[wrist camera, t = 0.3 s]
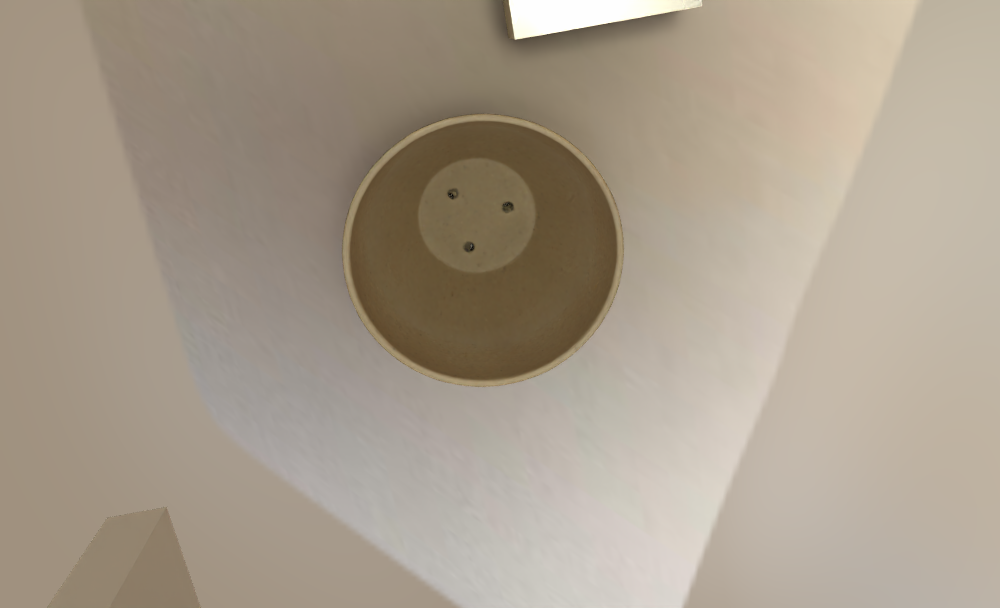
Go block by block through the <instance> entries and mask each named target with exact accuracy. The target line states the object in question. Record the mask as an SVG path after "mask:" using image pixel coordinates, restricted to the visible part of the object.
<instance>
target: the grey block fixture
mask: <svg viewBox="0 0 1000 608" xmlns="http://www.w3.org/2000/svg"><path fill="white" fill-rule="evenodd" d="M503 6H504V12H505V19H506V25H507V31H508V38H511V39H514V40H516V39H522V38H527V37H533V36H539V35H544V34H550V33H555V32H561V31H567V30H572V29H578V28H583V27H589V26H595V25H600V24H606V23H612V22H617V21H623V20H628V19H634V18H640V17H645V16H651V15H656V14H662V13H668V12H673V11H679V10H684V9H690V8H696V7H701V6H702V0H503Z"/></svg>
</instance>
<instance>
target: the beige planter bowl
mask: <svg viewBox="0 0 1000 608" xmlns="http://www.w3.org/2000/svg"><path fill="white" fill-rule="evenodd" d="M448 193H452V194H453V196H454V198H453V199H452V198H450V197H449V195H448ZM508 202H510V204H509V205H508V206H503V204H504V203H508ZM471 243H473V245H474V249H473V250H472V251H471V250H470V245H471ZM623 256H624V244H623V232H622V225H621V220H620V216H619V212H618V209H617V206H616V203H615V200H614V198H613V196H612V194H611V192H610V190H609V188H608V186H607V184H606V182H605V181H604V179H603V178H602V176H601V174H600V173H599V172H598V170H597V169H596V168H595V166H594V165H593V164H592V163H591V161H590V160H589V159H588V158H587V157H586V156H585V155H584V154H583V153H582V152H581V151H580V150H579V149H577V148H576V147H575V146H574V145H573V144H571V143H570V142H569V141H567V140H566V139H564V138H563V137H561V136H560V135H558V134H556V133H555V132H553V131H551V130H549V129H547V128H545V127H543V126H541V125H538V124H536V123H533V122H530V121H527V120H523V119H520V118H515V117H510V116H505V115H496V114H470V115H462V116H457V117H452V118H448V119H444V120H441V121H438V122H435V123H433V124H430V125H428V126H425V127H423V128H421V129H419V130H417V131H415V132H413V133H412V134H410V135H408V136H407V137H405V138H404V139H402V140H401V141H400V142H398V143H397V144H395V145H394V146H393V147H392V148H391V149H389V150H388V151H387V152H386V153H385V154H384V155H383V156H382V157H381V158H380V159H379V160H378V161H377V162H376V163H375V164H374V165H373V167H372V168H371V169H370V171H369V172H368V173H367V175H366V176H365V178H364V179H363V181H362V183H361V184H360V186H359V188H358V190H357V192H356V194H355V196H354V198H353V200H352V202H351V205H350V208H349V211H348V214H347V218H346V222H345V228H344V234H343V243H342V260H343V269H344V276H345V280H346V284H347V288H348V292H349V295H350V297H351V300H352V302H353V305H354V307H355V309H356V311H357V313H358V315H359V317H360V319H361V320H362V322H363V323H364V325H365V326H366V328H367V329H368V331H369V332H370V334H371V335H372V336H373V337H374V338H375V340H376V341H377V342H378V343H379V344H380V345H381V346H382V347H383V348H384V349H385V350H386V351H388V352H389V353H390V354H391V355H392V356H393V357H395V358H396V359H397V360H399V361H400V362H402V363H403V364H405V365H407V366H408V367H410V368H411V369H413V370H415V371H417V372H419V373H421V374H424V375H426V376H428V377H431V378H433V379H436V380H439V381H443V382H447V383H452V384H457V385H464V386H475V387H486V386H500V385H506V384H511V383H516V382H520V381H524V380H526V379H529V378H532V377H535V376H538V375H540V374H542V373H544V372H546V371H548V370H550V369H552V368H554V367H556V366H557V365H559V364H560V363H562V362H563V361H565V360H566V359H567V358H569V357H570V356H571V355H573V354H574V353H575V352H576V351H577V350H578V349H579V348H580V347H582V346H583V345H584V344H585V343H586V342H587V340H588V339H589V338H590V337H591V336H592V335H593V334H594V332H595V331H596V330H597V328H598V327H599V325H600V324H601V323H602V321H603V319H604V318H605V316H606V314H607V312H608V311H609V309H610V307H611V305H612V303H613V300H614V298H615V295H616V292H617V289H618V286H619V282H620V277H621V273H622V265H623Z"/></svg>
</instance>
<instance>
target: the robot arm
mask: <svg viewBox="0 0 1000 608" xmlns="http://www.w3.org/2000/svg"><path fill="white" fill-rule="evenodd" d="M47 608H201V607H200V604H199V601H198V598H197V595H196V592H195V589H194V586H193V583H192V580H191V577H190V574H189V572H188V569H187V566H186V563H185V560H184V557H183V554H182V551H181V548H180V545H179V542H178V539H177V536H176V533H175V530H174V528H173V525H172V522H171V519H170V516H169V513H168V510H167V507H163V508H158V509H152V510H147V511H142V512H136V513H131V514H125V515H119V516H114V517H109V518H107V519H106V521H105V522H104V524H103V525H102V526H101V528H100V530H99V531H98V533H97V534H96V535H95V537H94V538H93V540H92V541H91V543H90V544H89V546H88V547H87V549H86V550H85V552H84V553H83V555H82V556H81V558H80V559H79V561H78V562H77V564H76V565H75V567H74V568H73V570H72V571H71V573H70V574H69V576H68V577H67V579H66V580H65V582H64V583H63V585H62V586H61V588H60V589H59V590H58V592H57V593H56V595H55V597H54V598H53V599H52V601H51V603H50V604H49V605H48V607H47Z"/></svg>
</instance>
